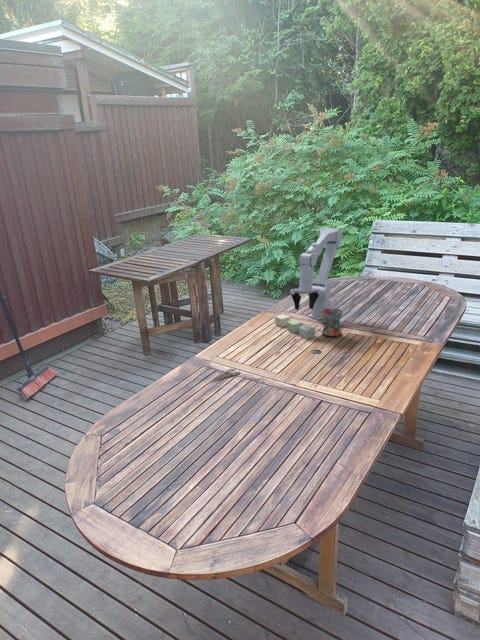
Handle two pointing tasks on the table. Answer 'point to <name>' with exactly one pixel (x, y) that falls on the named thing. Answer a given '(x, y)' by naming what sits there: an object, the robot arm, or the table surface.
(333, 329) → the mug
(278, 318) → the block cream
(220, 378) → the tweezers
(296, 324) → the block sage
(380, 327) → the table surface
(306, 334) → the block bluegrey
